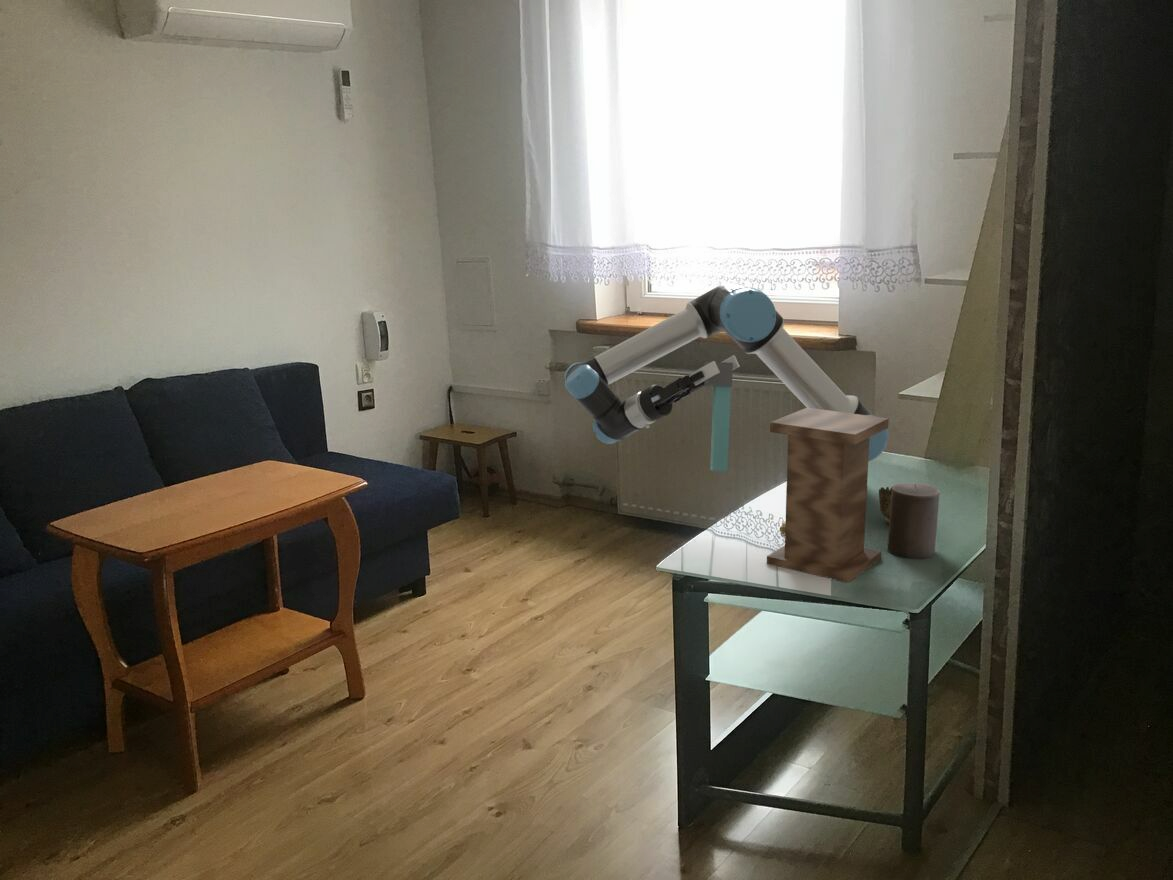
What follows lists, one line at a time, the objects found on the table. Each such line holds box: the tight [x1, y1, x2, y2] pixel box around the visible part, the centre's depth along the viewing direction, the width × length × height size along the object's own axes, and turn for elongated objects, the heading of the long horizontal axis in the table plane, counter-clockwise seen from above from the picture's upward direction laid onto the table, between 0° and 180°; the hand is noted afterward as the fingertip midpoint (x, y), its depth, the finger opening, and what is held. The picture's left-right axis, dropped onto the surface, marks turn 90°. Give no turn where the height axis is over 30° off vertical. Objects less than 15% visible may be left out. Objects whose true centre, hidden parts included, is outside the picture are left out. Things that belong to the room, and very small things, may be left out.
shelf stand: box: [766, 407, 890, 583], centre depth 214 cm, size 18×16×30 cm
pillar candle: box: [887, 482, 941, 559], centre depth 221 cm, size 10×10×15 cm
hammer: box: [704, 361, 734, 472], centre depth 224 cm, size 23×5×5 cm
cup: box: [878, 486, 893, 526], centre depth 238 cm, size 8×7×8 cm
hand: (726, 363), depth 222 cm, fingers closed on hammer, 8 cm apart
